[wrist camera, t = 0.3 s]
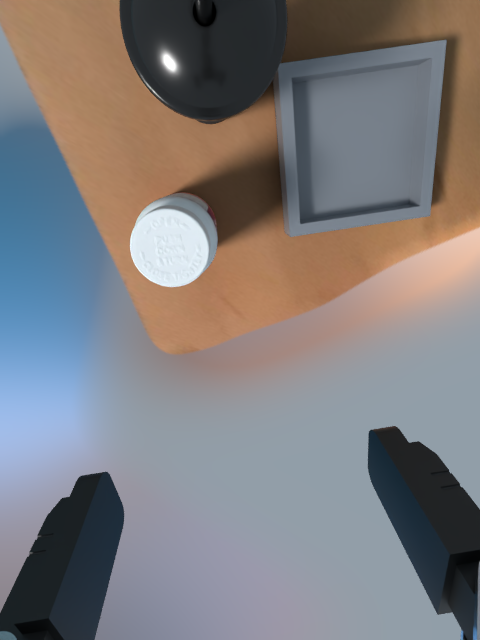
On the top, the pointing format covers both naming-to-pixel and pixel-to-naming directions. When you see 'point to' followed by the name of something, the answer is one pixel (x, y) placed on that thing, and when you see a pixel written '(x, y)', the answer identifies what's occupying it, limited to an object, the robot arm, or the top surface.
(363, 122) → the tray
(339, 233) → the top surface
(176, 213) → the pill bottle
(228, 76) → the drinking cup
